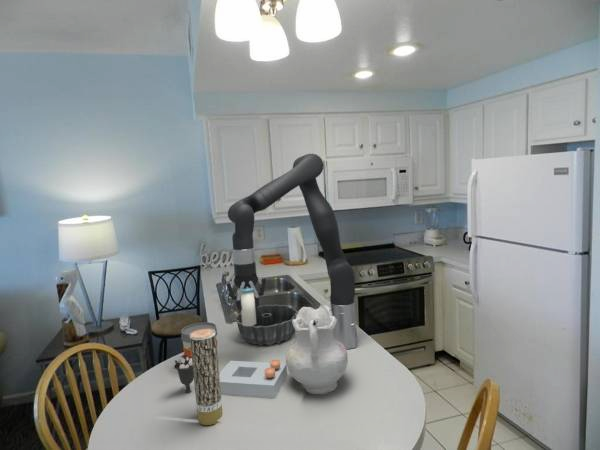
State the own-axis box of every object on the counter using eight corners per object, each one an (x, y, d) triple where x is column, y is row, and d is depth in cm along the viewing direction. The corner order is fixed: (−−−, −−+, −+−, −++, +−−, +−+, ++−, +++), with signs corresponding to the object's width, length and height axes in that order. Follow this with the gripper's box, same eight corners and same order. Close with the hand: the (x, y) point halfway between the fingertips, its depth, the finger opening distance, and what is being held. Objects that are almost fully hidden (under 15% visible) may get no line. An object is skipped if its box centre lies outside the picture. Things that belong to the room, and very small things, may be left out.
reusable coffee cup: (227, 363, 144) (223, 323, 143) (205, 379, 133) (201, 337, 131) (199, 358, 150) (196, 320, 148) (176, 374, 138) (172, 333, 137)
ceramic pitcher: (357, 404, 115) (359, 321, 112) (291, 409, 112) (292, 324, 109) (338, 370, 136) (339, 300, 134) (282, 374, 133) (282, 302, 130)
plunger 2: (281, 371, 128) (281, 359, 127) (279, 376, 125) (278, 364, 124) (272, 371, 129) (271, 359, 128) (269, 375, 125) (268, 364, 125)
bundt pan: (271, 356, 148) (269, 330, 147) (223, 342, 164) (221, 319, 163) (311, 332, 169) (310, 309, 168) (266, 322, 185) (264, 301, 184)
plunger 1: (277, 380, 122) (276, 367, 122) (273, 385, 119) (273, 372, 119) (267, 379, 123) (266, 367, 123) (263, 384, 120) (263, 372, 120)
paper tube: (200, 413, 113) (192, 329, 110) (224, 410, 114) (216, 327, 111) (196, 427, 106) (187, 339, 104) (221, 425, 107) (213, 337, 104)
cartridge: (258, 324, 136) (255, 286, 135) (242, 327, 135) (239, 288, 133) (255, 319, 142) (252, 282, 140) (240, 322, 140) (237, 284, 138)
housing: (287, 378, 131) (286, 363, 130) (275, 401, 117) (273, 385, 116) (231, 374, 135) (230, 360, 135) (213, 396, 122) (212, 381, 121)
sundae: (203, 390, 126) (199, 345, 124) (191, 401, 120) (186, 354, 118) (186, 388, 128) (181, 344, 126) (173, 399, 122) (168, 352, 120)
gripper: (224, 265, 130) (228, 315, 132) (267, 260, 134) (270, 309, 136) (222, 261, 137) (226, 308, 139) (262, 257, 141) (266, 302, 143)
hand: (248, 308), depth 137 cm, fingers closed on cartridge, 5 cm apart
